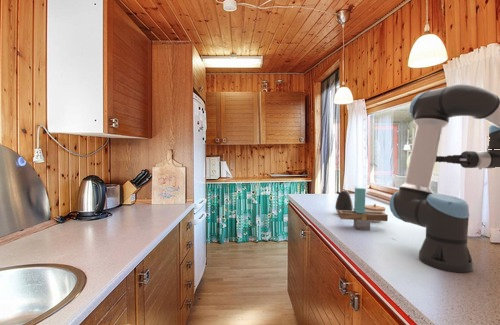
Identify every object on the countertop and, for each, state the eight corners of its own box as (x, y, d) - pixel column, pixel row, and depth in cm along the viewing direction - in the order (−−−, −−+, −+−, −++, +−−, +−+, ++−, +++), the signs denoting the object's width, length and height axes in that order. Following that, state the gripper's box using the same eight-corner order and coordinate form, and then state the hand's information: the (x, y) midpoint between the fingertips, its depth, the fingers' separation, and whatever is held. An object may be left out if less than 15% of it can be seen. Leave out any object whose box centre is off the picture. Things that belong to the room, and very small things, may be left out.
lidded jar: (380, 218, 154) (381, 202, 153) (388, 223, 143) (388, 206, 143) (361, 217, 155) (361, 202, 154) (367, 222, 144) (368, 205, 144)
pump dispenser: (331, 212, 166) (332, 189, 166) (346, 212, 168) (347, 188, 168) (340, 216, 156) (340, 191, 156) (356, 216, 158) (356, 191, 158)
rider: (365, 219, 130) (366, 189, 129) (356, 218, 130) (357, 189, 130) (361, 216, 136) (362, 187, 136) (353, 215, 137) (354, 187, 136)
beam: (387, 231, 129) (387, 215, 128) (340, 229, 131) (341, 213, 131) (381, 227, 136) (382, 211, 135) (337, 225, 138) (338, 210, 138)
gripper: (484, 168, 111) (425, 167, 113) (463, 167, 124) (410, 166, 126) (485, 151, 110) (425, 150, 113) (464, 151, 123) (410, 150, 126)
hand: (417, 158), depth 120 cm, fingers closed
